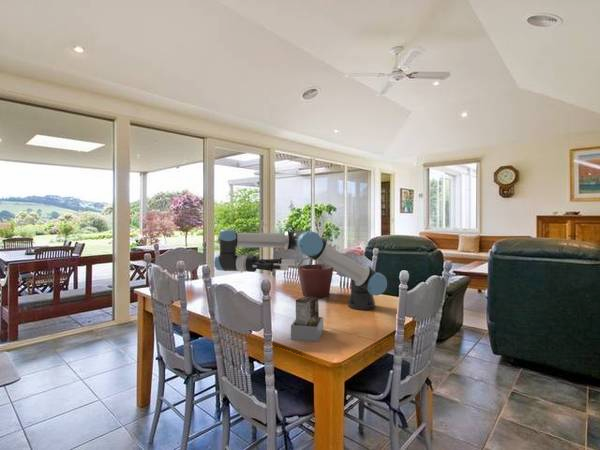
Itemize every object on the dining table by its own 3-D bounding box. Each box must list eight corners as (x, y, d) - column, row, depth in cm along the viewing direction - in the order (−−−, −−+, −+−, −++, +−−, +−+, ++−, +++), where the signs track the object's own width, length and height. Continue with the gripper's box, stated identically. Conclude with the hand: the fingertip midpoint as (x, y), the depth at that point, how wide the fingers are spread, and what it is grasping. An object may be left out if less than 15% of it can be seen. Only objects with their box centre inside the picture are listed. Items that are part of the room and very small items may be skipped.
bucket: (292, 298, 221) (292, 258, 220) (302, 290, 242) (302, 254, 241) (331, 300, 214) (331, 259, 213) (338, 292, 235) (338, 255, 234)
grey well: (323, 329, 162) (323, 317, 161) (317, 341, 147) (317, 327, 147) (298, 328, 164) (298, 315, 164) (290, 339, 150) (290, 325, 150)
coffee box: (307, 330, 161) (307, 295, 161) (319, 333, 157) (319, 297, 156) (295, 335, 154) (294, 299, 153) (306, 339, 150) (306, 301, 149)
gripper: (256, 267, 177) (297, 268, 173) (237, 276, 152) (284, 278, 148) (256, 252, 177) (297, 253, 172) (237, 259, 152) (284, 260, 148)
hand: (291, 264), depth 160 cm, fingers open, 13 cm apart
